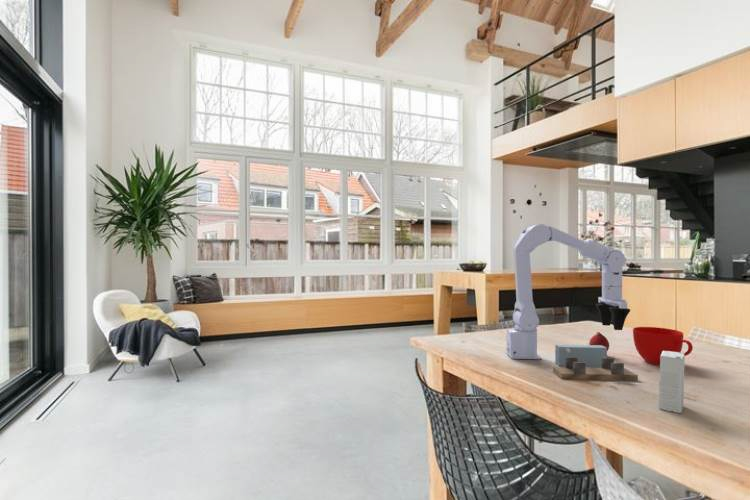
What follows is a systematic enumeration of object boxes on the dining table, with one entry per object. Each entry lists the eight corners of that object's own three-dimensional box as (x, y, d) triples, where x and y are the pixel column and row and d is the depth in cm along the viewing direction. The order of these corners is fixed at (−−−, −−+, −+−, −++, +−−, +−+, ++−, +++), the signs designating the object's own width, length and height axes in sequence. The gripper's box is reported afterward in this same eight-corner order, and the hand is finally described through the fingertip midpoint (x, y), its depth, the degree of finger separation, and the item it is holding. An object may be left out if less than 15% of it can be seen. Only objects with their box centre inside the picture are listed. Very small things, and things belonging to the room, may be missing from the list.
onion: (604, 353, 136) (604, 330, 136) (612, 358, 131) (612, 333, 131) (586, 353, 137) (586, 329, 137) (594, 357, 131) (593, 333, 131)
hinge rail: (561, 378, 109) (561, 362, 109) (553, 371, 116) (552, 356, 116) (637, 380, 108) (637, 364, 108) (625, 373, 114) (624, 357, 114)
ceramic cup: (674, 374, 114) (674, 338, 114) (623, 358, 130) (623, 327, 130) (708, 370, 117) (708, 336, 117) (654, 355, 133) (653, 325, 133)
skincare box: (660, 401, 93) (660, 349, 93) (685, 406, 90) (684, 352, 90) (658, 409, 88) (658, 354, 88) (683, 414, 86) (683, 358, 86)
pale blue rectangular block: (560, 367, 121) (559, 347, 121) (555, 363, 125) (555, 344, 125) (608, 368, 120) (608, 348, 120) (602, 364, 124) (601, 345, 124)
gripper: (637, 288, 123) (637, 332, 123) (613, 284, 137) (613, 323, 137) (613, 288, 123) (613, 331, 123) (592, 284, 138) (592, 323, 138)
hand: (612, 327), depth 130 cm, fingers open, 7 cm apart
